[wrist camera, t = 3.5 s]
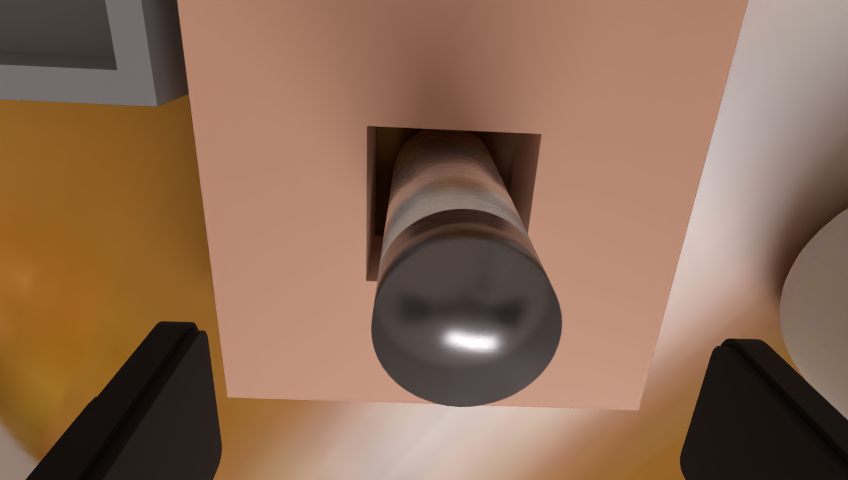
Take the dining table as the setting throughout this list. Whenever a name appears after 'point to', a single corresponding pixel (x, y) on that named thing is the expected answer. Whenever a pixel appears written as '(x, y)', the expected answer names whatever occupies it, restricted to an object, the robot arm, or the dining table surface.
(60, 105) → the dining table surface
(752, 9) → the dining table surface
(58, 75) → the tray
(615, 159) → the hitch block
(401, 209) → the pin
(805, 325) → the teacup
